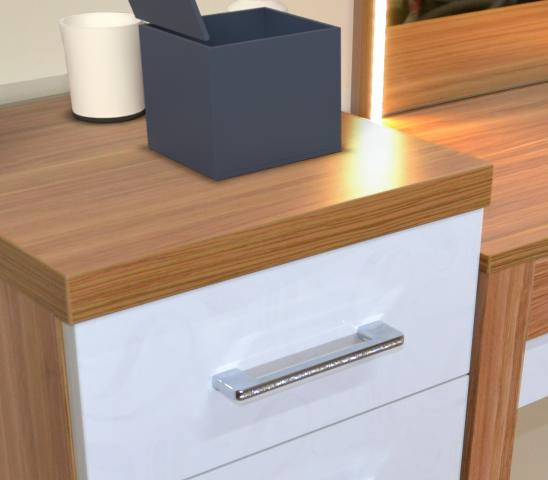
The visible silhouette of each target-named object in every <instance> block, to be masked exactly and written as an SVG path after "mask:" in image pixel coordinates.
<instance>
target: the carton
mask: <svg viewBox="0 0 548 480" xmlns="http://www.w3.org/2000/svg"><path fill="white" fill-rule="evenodd" d="M201 16H202V19H203V22H204V24H205V27H206V29H207V32H208V35H209V37H210V39H209V40H208V41H203V40H200V39H197V38H194V37H191V36H188V35H185V34H182V33H179V32H176V31H173V30H170V29H167V28H164V27H161V26H158V25H155V24H152V23H146V24H139V25H138V26H139V38H140V51H141V63H142V75H143V87H144V100H145V112H144V113H145V124H146V134H147V135H146V136H147V147H148V149H150V150H152V151H154V152H157V153H158V154H160V155H162V156H164V157H166V158H168V159H170V160H173V161H174V162H177V163H178V164H181V165H183V166H185V167H186V168H189V169H191V170H193V171H196V172H197V173H199V174H202V175H203V176H206V177H208V178H210V179H212V180H214V181H216V182H218V181H222V180H226V179H229V178H235V177H239V176H243V175H246V174H252V173H256V172H260V171H263V170H268V169H272V168H275V167H280V166H284V165H288V164H292V163H297V162H301V161H307V160H310V159H314V158H318V157H323V156H326V155H331V154H334V153H339V152H342V27H341V26H337V25H334V24H330V23H326V22H322V21H318V20H316V19H312V18H308V17H304V16H301V15H297V14H294V13H289V12H288V13H286V12H283V11H279V10H275V9H272V8H268V7H260V8H252V9H245V10H238V11H231V12H227V11H224V12H217V13H211V14H203V15H201Z"/></svg>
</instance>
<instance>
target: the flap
mask: <svg viewBox="0 0 548 480" xmlns="http://www.w3.org/2000/svg"><path fill="white" fill-rule="evenodd" d="M127 1H128V4H129V6H130V8H131V10H132V11H131V12H132V14H134V15H135V18H137V19H140V20H143V21H146V22H149V23H152V24H155V25H158V26H161V27H164V28H167V29H170V30H173V31H176V32H179V33H182V34H185V35H188V36H191V37H194V38H197V39H200V40H203V41H208V40H209V39H210V37H209V35H208V32H207V29H206V27H205V24H204V22H203V19H202V16H203V15H202V14H201V12H200V11H201V10H200V9H199V5H198V3H197V1H196V0H127Z"/></svg>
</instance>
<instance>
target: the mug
mask: <svg viewBox="0 0 548 480" xmlns="http://www.w3.org/2000/svg"><path fill="white" fill-rule="evenodd" d="M146 23H149V22H146V21H143V20H140V19H137V18H135V15H134V13H129V12H128V13H127V12H119V11H98V12H96V11H93V12H84V13H78V14H72V15H68V16H65V17H62V18H60V19H59V20H58V26H59V30H60V35H61V40H62V45H63V50H64V51H63V52H64V57H65V66H66V72H67V73H66V74H67V80H68V88H69V95H70V103H71V109H72V110H71V111H72V115H73V116H74V117H75V119H77V120H80V121H82V122H89V123H98V124H99V123H101V124H104V123H105V124H106V123H107V124H109V123H120V122H126V121H127V122H128V121H131V120H134V119H137V118H141V117H142V116H143V115H144V113H146V112H145V100H144V87H143V75H142V63H141V51H140V38H139V26H138V25H139V24H146Z"/></svg>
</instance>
